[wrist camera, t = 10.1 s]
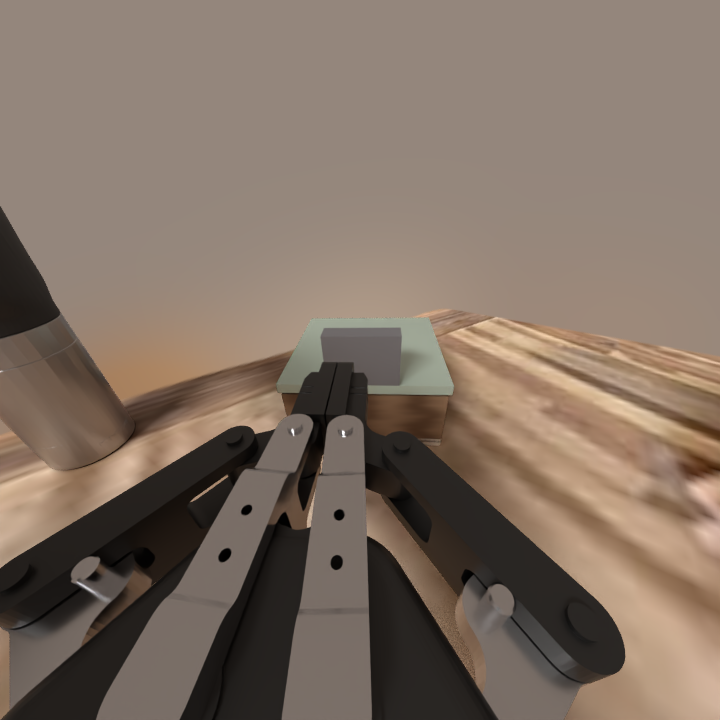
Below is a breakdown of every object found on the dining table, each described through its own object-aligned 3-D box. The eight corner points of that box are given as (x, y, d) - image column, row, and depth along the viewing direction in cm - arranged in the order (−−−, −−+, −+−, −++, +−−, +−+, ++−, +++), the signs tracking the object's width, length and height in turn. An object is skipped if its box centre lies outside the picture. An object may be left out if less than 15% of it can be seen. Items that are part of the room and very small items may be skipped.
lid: (277, 392, 31) (263, 336, 27) (312, 325, 46) (306, 283, 42) (452, 395, 29) (463, 336, 25) (427, 324, 45) (432, 281, 41)
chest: (293, 441, 35) (281, 394, 31) (319, 366, 51) (314, 327, 46) (439, 445, 34) (448, 396, 30) (421, 366, 49) (426, 327, 45)
